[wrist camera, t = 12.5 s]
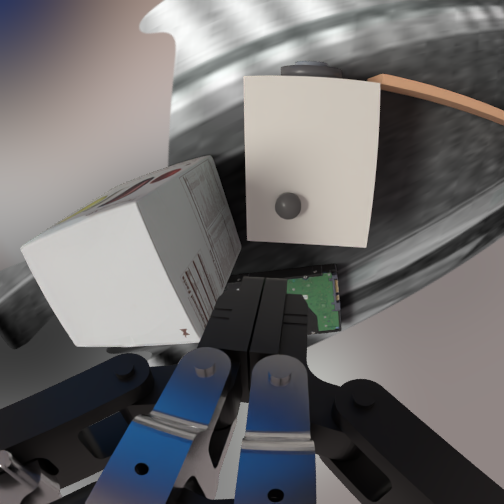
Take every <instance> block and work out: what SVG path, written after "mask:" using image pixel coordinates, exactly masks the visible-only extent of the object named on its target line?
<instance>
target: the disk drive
mask: <svg viewBox="0 0 504 504" xmlns="http://www.w3.org/2000/svg"><path fill="white" fill-rule="evenodd" d="M244 276H248V277H263V278H265V281H266V278H279V279H287V294H302V296H303V297H304V299H305V300H306V302H307V304H308V324H307V334H308V335H309V334H317V333H318V334H321V333H329V332H337V331H341V314H340V297H339V286H338V275H337V267H336V264H328V265H317V266H311V267H303V268H294V269H285V270H277V271H268V272H258V273H246V274H239V275H231V276H230V277H229V279H228V282H227V288H228V289H229V290H239V288H240V285H241V282H242V279H243V277H244Z"/></svg>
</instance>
